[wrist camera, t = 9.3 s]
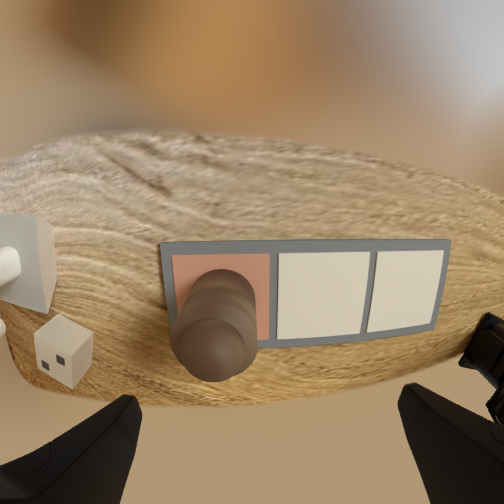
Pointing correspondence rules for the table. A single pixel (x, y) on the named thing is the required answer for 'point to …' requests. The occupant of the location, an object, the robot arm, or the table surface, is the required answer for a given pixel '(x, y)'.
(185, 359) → the pawn
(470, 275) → the table surface
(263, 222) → the table surface
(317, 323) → the game board
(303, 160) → the table surface
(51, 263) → the figurine
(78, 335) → the cream box with slots
